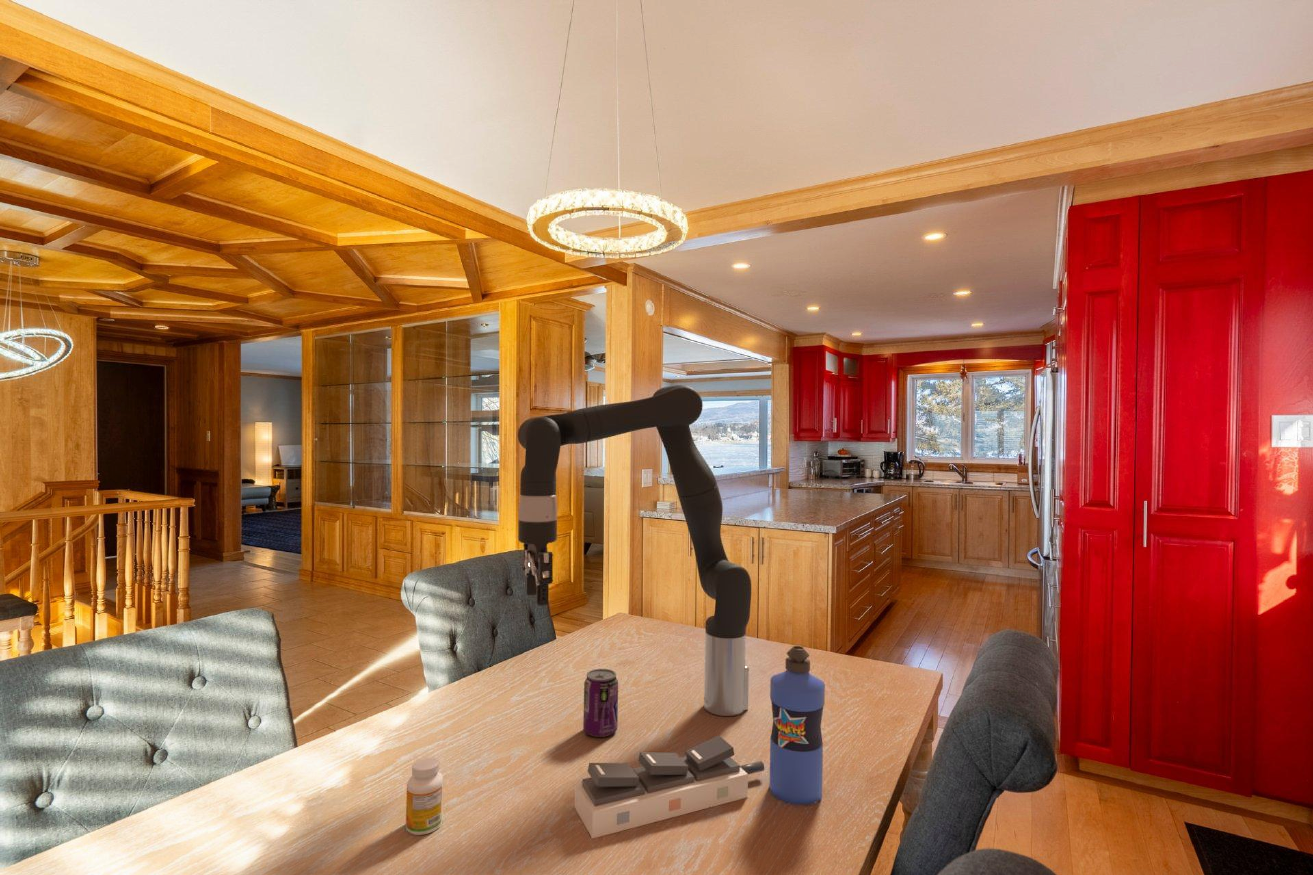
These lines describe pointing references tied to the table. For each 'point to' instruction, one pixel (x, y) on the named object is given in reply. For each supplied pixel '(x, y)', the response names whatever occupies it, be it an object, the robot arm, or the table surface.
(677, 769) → the plate
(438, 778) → the supplement bottle
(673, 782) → the power strip
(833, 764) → the table surface
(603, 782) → the rocker
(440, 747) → the table surface
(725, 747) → the rocker
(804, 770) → the blue squeeze bottle
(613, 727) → the beverage can
